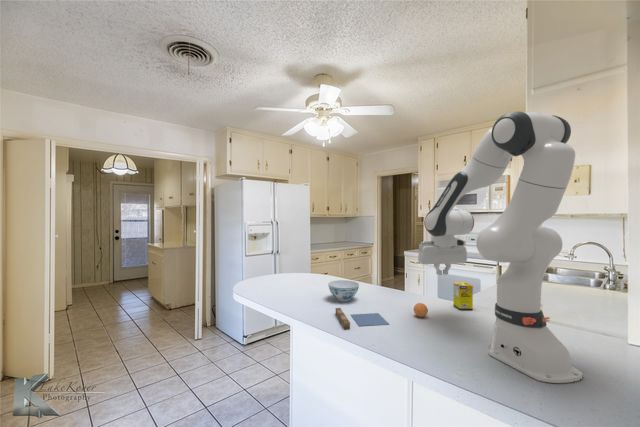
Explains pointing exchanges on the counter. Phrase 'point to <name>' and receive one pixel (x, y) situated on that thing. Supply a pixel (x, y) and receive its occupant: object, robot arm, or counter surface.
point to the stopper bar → (342, 318)
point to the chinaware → (343, 289)
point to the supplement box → (463, 296)
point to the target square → (369, 319)
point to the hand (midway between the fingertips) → (442, 274)
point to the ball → (420, 309)
